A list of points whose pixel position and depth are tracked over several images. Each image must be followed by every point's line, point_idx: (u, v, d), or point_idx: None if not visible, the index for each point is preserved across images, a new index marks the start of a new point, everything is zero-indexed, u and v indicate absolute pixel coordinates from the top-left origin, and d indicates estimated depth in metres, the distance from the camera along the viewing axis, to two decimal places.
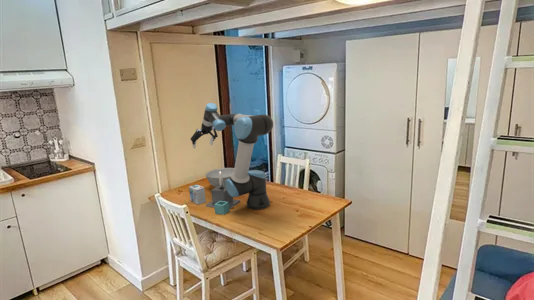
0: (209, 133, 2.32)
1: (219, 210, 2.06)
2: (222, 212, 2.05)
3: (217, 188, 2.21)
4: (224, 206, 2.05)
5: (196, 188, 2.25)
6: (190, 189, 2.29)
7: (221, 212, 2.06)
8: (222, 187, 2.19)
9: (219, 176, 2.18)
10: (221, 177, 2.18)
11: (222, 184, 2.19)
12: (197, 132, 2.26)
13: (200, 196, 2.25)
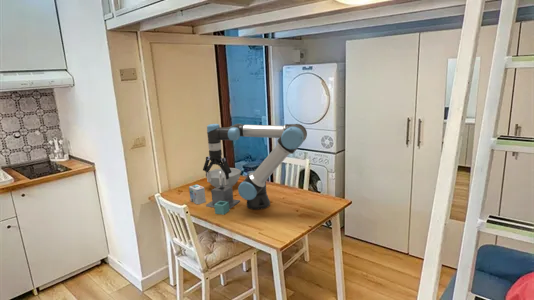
0: None
1: (219, 210, 2.06)
2: (222, 212, 2.05)
3: (217, 188, 2.21)
4: (224, 206, 2.05)
5: (196, 188, 2.25)
6: (190, 189, 2.29)
7: (221, 212, 2.06)
8: (222, 187, 2.19)
9: (219, 176, 2.18)
10: (221, 177, 2.18)
11: (222, 184, 2.19)
12: (225, 160, 2.00)
13: (200, 196, 2.25)
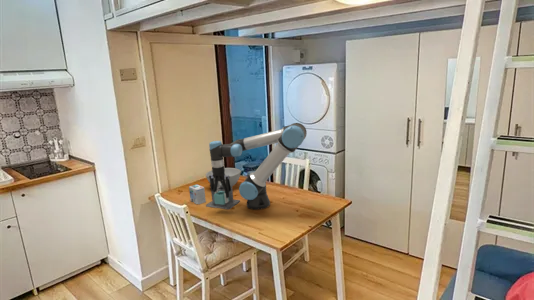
0: None
1: (219, 200, 2.04)
2: (222, 202, 2.04)
3: (217, 188, 2.21)
4: (224, 196, 2.04)
5: (196, 188, 2.25)
6: (190, 189, 2.29)
7: (221, 202, 2.04)
8: (222, 187, 2.19)
9: None
10: None
11: None
12: None
13: (200, 196, 2.25)
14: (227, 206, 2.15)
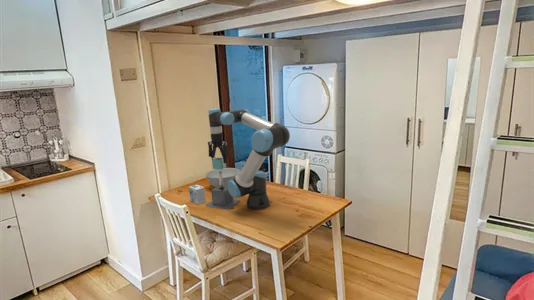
0: None
1: (217, 165, 2.14)
2: (219, 167, 2.13)
3: (217, 188, 2.21)
4: (221, 161, 2.14)
5: (196, 188, 2.25)
6: (190, 189, 2.29)
7: (218, 167, 2.14)
8: (222, 187, 2.19)
9: (219, 176, 2.18)
10: (221, 177, 2.18)
11: (222, 184, 2.19)
12: (226, 144, 2.12)
13: (200, 196, 2.25)
14: (227, 206, 2.15)
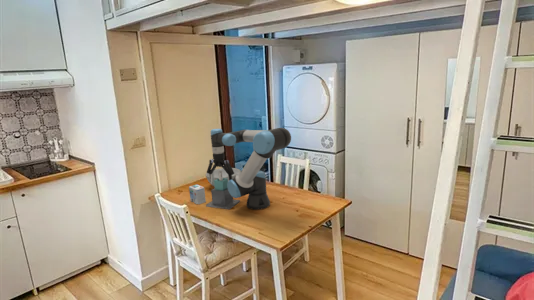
0: None
1: (219, 185, 2.17)
2: (221, 188, 2.16)
3: None
4: (223, 182, 2.17)
5: (196, 188, 2.25)
6: (190, 189, 2.29)
7: (220, 188, 2.17)
8: None
9: (219, 176, 2.18)
10: (221, 177, 2.18)
11: None
12: None
13: (200, 196, 2.25)
14: (227, 206, 2.15)
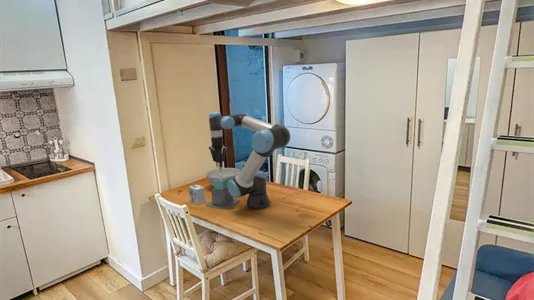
0: None
1: (219, 185, 2.17)
2: (221, 188, 2.16)
3: None
4: (223, 182, 2.17)
5: (196, 188, 2.25)
6: (190, 189, 2.29)
7: (220, 188, 2.17)
8: None
9: (219, 177, 2.18)
10: (221, 178, 2.18)
11: None
12: (226, 149, 2.13)
13: (200, 196, 2.25)
14: (227, 206, 2.15)
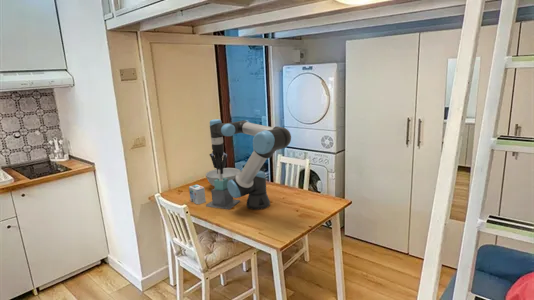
0: None
1: (219, 185, 2.17)
2: (221, 188, 2.16)
3: None
4: (223, 182, 2.17)
5: (196, 188, 2.25)
6: (190, 189, 2.29)
7: (220, 188, 2.17)
8: None
9: None
10: None
11: None
12: (226, 156, 2.14)
13: (200, 196, 2.25)
14: (227, 206, 2.15)
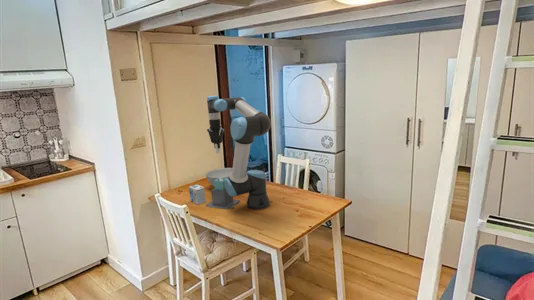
0: None
1: (219, 185, 2.17)
2: (221, 188, 2.16)
3: None
4: (223, 182, 2.17)
5: (196, 188, 2.25)
6: (190, 189, 2.29)
7: (220, 188, 2.17)
8: None
9: None
10: None
11: None
12: (223, 131, 2.24)
13: (200, 196, 2.25)
14: (227, 206, 2.15)
